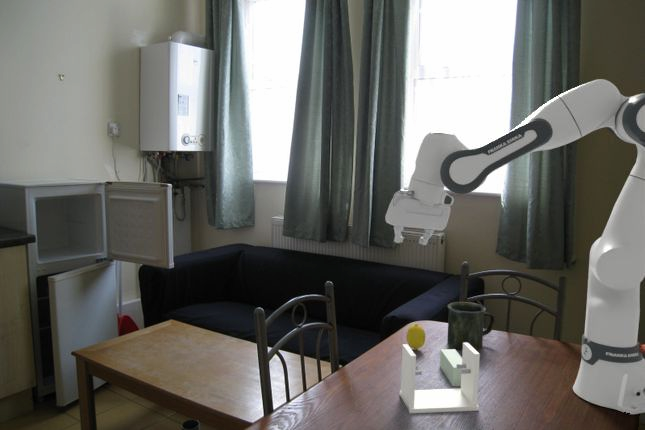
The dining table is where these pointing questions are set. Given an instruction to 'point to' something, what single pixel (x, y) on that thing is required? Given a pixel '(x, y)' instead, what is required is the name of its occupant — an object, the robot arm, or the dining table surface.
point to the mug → (467, 324)
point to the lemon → (415, 336)
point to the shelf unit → (441, 397)
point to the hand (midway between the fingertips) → (410, 243)
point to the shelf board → (451, 365)
